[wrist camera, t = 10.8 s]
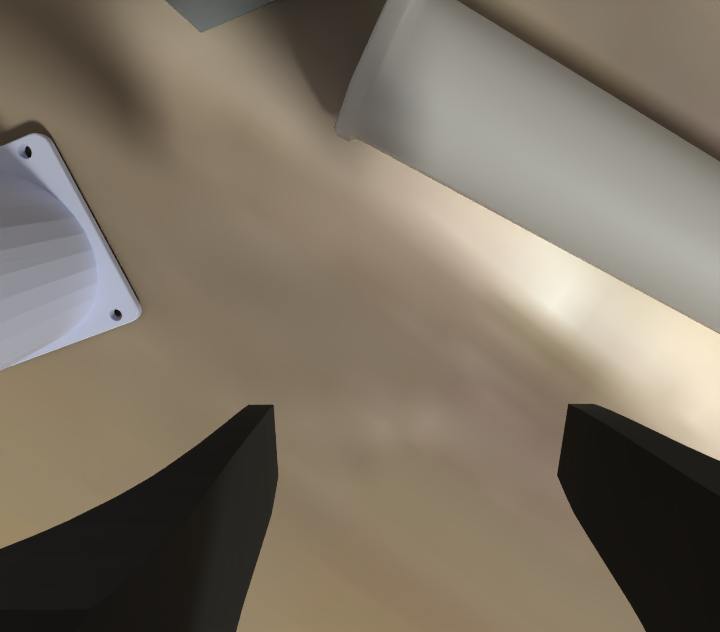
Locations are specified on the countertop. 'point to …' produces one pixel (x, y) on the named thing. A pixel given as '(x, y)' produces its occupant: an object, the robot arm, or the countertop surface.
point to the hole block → (213, 10)
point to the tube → (540, 149)
